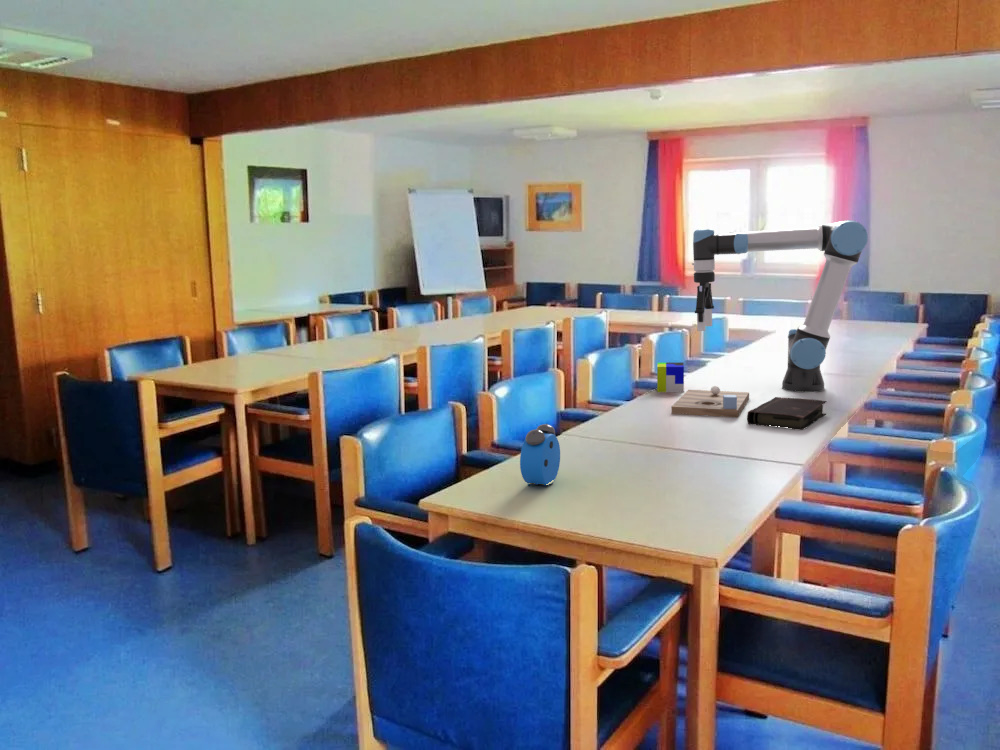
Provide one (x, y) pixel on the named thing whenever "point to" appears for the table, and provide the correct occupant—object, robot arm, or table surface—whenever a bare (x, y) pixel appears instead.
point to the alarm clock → (540, 455)
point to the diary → (787, 412)
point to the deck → (708, 403)
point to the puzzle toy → (670, 377)
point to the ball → (715, 390)
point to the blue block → (729, 401)
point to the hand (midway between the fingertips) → (704, 328)
